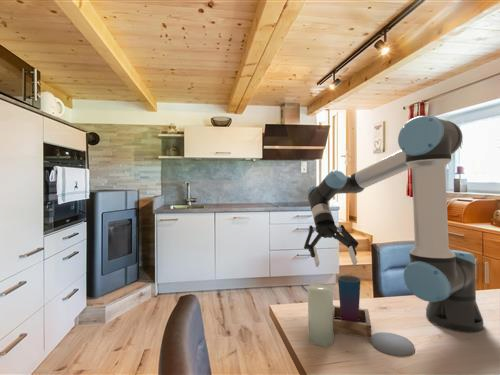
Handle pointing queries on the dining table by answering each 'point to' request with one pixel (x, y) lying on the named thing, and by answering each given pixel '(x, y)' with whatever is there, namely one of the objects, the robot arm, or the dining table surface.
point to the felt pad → (392, 344)
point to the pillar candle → (320, 314)
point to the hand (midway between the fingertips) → (336, 264)
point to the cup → (349, 297)
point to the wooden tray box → (352, 323)
